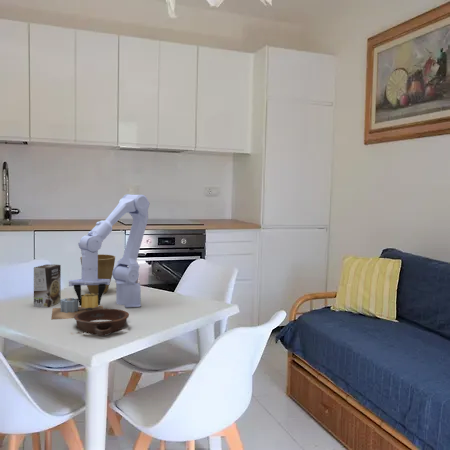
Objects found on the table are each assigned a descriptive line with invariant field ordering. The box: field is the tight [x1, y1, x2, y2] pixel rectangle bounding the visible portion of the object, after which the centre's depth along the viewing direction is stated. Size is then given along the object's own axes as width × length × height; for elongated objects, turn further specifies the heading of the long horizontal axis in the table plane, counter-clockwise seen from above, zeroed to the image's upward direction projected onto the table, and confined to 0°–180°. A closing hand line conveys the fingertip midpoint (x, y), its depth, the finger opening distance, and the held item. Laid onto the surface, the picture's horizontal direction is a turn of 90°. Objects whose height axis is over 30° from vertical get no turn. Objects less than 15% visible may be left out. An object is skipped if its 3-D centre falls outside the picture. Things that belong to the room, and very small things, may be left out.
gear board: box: [50, 297, 104, 320], centre depth 175 cm, size 18×16×6 cm
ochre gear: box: [80, 293, 99, 308], centre depth 178 cm, size 6×6×4 cm
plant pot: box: [79, 253, 116, 295], centre depth 213 cm, size 15×15×16 cm
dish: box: [73, 308, 130, 337], centre depth 159 cm, size 18×22×5 cm
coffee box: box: [33, 264, 62, 309], centre depth 185 cm, size 9×6×16 cm
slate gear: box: [60, 297, 79, 313], centre depth 177 cm, size 6×6×4 cm
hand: (89, 304), depth 179 cm, fingers closed on ochre gear, 6 cm apart
